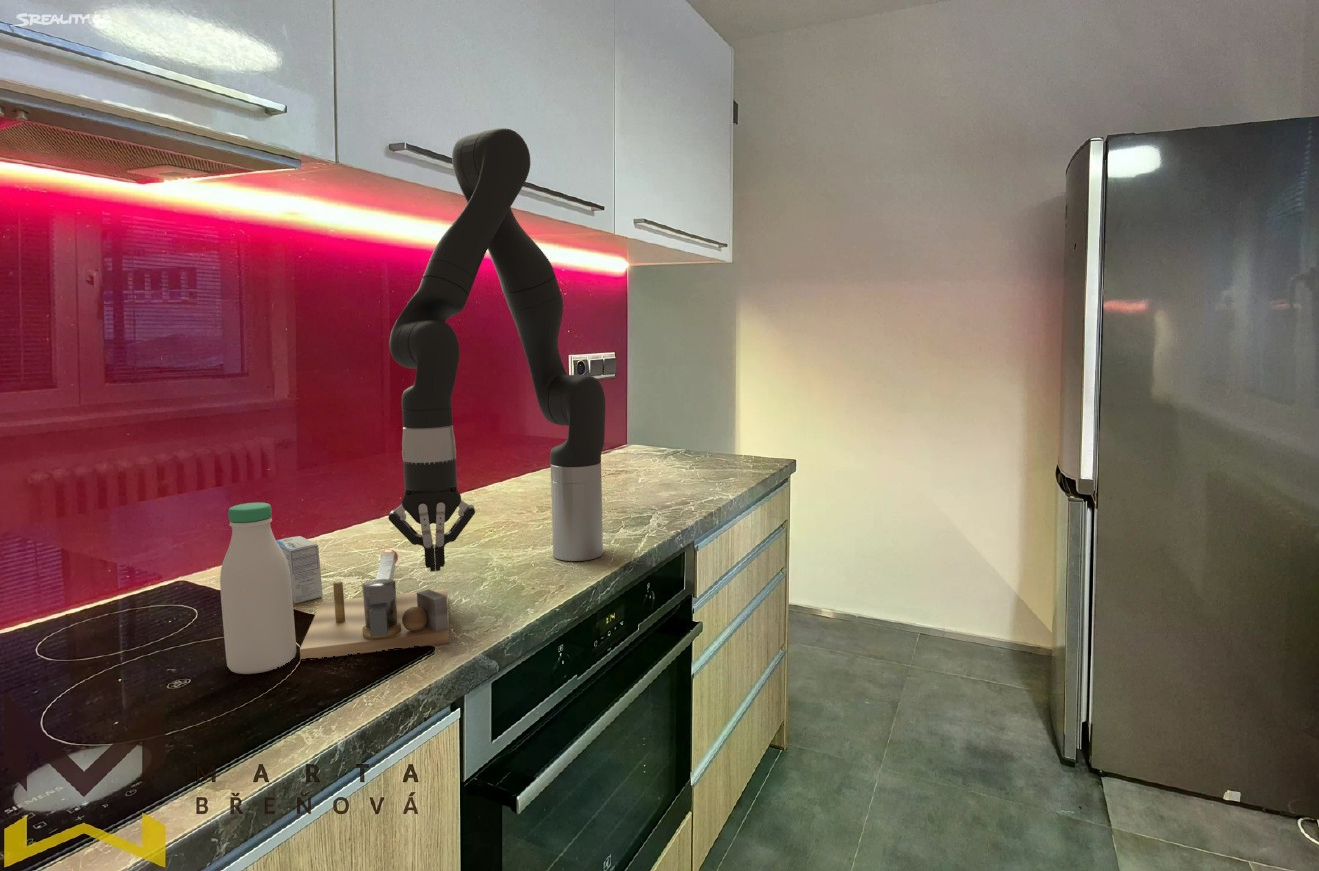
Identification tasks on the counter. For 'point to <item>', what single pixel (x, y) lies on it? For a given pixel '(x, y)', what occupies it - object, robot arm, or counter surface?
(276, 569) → the milk bottle
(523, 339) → the robot arm
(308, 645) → the base
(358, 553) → the counter surface
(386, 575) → the lever
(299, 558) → the medicine box
